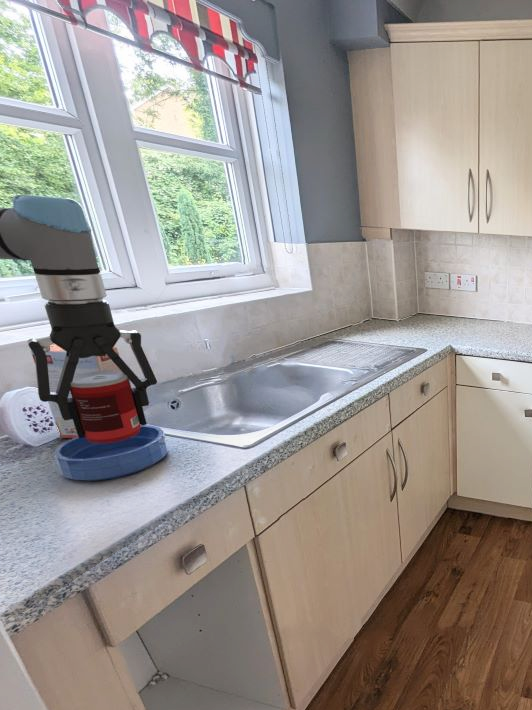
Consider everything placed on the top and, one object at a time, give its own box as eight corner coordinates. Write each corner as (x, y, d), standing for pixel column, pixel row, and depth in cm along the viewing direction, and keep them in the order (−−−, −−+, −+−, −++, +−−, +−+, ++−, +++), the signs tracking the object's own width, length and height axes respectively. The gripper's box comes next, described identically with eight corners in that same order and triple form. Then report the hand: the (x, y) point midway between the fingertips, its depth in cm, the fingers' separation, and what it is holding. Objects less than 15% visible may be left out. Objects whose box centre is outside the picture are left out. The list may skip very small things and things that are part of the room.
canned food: (131, 422, 86) (116, 367, 83) (150, 433, 83) (136, 376, 79) (77, 435, 80) (59, 376, 76) (96, 448, 76) (77, 387, 73)
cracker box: (142, 431, 108) (118, 346, 101) (119, 442, 102) (93, 352, 95) (84, 427, 108) (56, 342, 101) (59, 438, 103) (27, 349, 95)
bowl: (54, 492, 83) (46, 468, 81) (69, 456, 96) (62, 435, 94) (168, 469, 93) (162, 447, 91) (168, 439, 105) (163, 419, 103)
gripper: (-21, 308, 63) (31, 453, 71) (161, 299, 78) (187, 420, 86) (-21, 300, 68) (28, 438, 76) (151, 293, 83) (177, 409, 91)
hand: (112, 428), depth 81 cm, fingers closed on canned food, 8 cm apart
